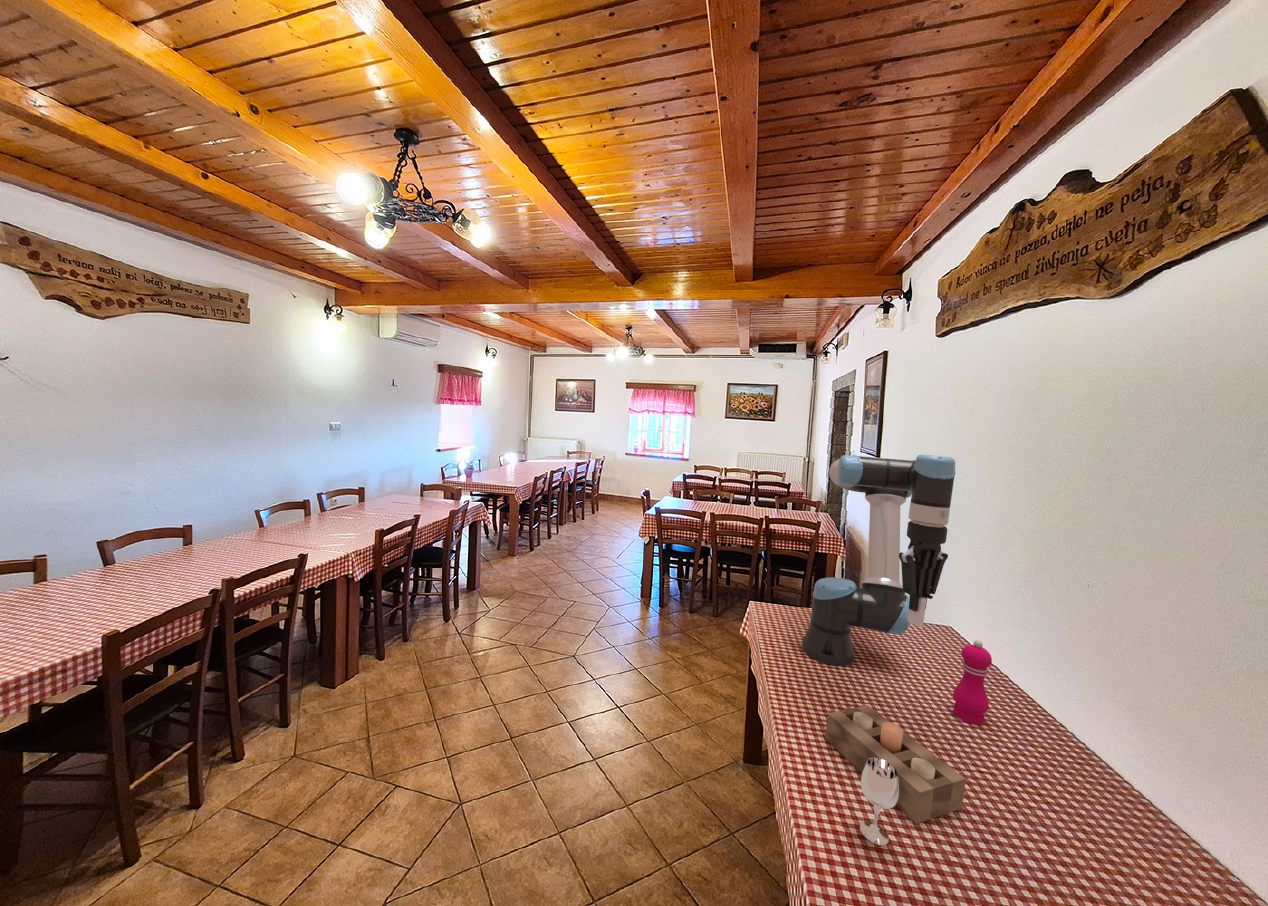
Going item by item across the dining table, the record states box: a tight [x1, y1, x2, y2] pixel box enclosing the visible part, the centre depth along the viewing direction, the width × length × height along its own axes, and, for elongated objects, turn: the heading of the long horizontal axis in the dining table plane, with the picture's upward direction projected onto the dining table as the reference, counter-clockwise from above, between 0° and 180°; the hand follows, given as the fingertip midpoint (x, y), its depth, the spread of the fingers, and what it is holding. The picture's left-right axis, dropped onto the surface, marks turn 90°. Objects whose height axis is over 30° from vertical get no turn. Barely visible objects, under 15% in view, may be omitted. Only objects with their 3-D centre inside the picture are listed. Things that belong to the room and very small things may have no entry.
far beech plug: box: [853, 712, 873, 730], centre depth 98 cm, size 4×4×6 cm
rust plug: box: [880, 721, 904, 754], centre depth 91 cm, size 4×4×6 cm
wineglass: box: [859, 758, 899, 846], centre depth 77 cm, size 6×6×12 cm
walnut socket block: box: [824, 704, 967, 825], centre depth 92 cm, size 22×12×6 cm, turn 20°
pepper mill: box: [952, 639, 993, 726], centre depth 111 cm, size 7×7×20 cm
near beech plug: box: [911, 758, 935, 782], centre depth 85 cm, size 4×4×6 cm
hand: (915, 623), depth 102 cm, fingers closed
